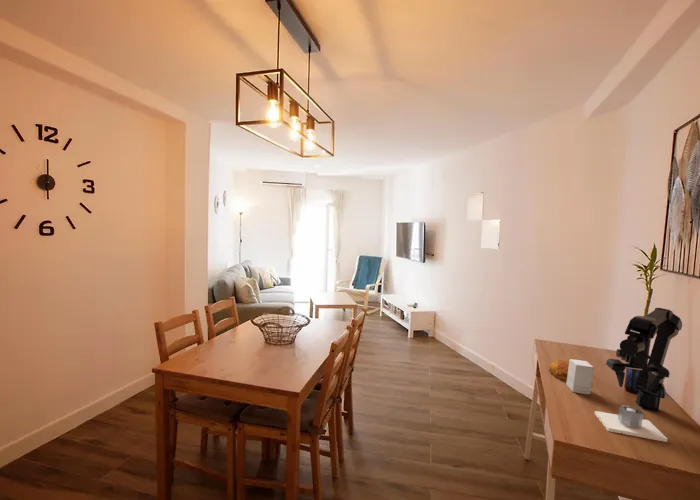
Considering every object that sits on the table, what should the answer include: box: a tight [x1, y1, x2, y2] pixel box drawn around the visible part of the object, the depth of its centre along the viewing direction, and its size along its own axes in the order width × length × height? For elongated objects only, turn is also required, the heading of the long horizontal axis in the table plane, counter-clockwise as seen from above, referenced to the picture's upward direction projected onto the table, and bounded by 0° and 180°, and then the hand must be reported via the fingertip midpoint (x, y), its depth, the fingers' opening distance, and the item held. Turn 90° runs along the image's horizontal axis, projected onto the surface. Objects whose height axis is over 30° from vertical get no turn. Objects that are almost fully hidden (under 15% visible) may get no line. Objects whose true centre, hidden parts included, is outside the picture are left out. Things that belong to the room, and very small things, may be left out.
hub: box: [617, 404, 644, 428], centre depth 132 cm, size 6×6×5 cm
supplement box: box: [565, 358, 595, 395], centre depth 160 cm, size 7×7×13 cm
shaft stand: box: [594, 408, 668, 443], centre depth 132 cm, size 18×12×7 cm, turn 76°
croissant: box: [548, 359, 569, 382], centre depth 174 cm, size 14×16×8 cm
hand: (634, 388), depth 139 cm, fingers open, 9 cm apart
